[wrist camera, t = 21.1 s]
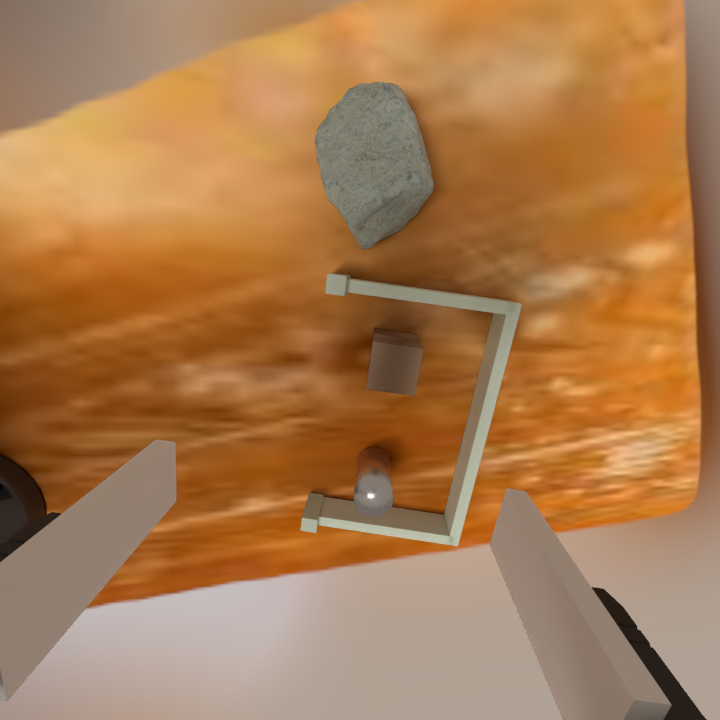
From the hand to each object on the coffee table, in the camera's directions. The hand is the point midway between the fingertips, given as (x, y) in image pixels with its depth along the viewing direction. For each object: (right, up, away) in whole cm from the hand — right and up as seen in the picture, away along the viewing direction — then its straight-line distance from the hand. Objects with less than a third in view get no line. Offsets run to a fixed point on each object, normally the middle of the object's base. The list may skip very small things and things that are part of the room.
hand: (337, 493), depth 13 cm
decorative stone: (+3, +23, +19) cm, 30 cm away
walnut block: (+4, +6, +24) cm, 25 cm away
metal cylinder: (+3, -7, +27) cm, 28 cm away
